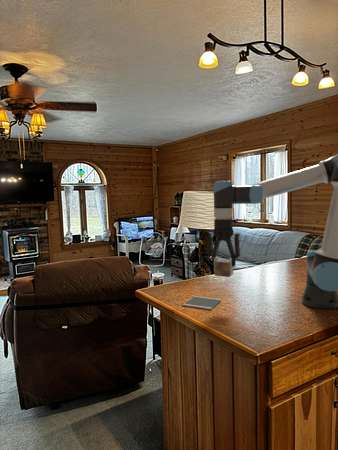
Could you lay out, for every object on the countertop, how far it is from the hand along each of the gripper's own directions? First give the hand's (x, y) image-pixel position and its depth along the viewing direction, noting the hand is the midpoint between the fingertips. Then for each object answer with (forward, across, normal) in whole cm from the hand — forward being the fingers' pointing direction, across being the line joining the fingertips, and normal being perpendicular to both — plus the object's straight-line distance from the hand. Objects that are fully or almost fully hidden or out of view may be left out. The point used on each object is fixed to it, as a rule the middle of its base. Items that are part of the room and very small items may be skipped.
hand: (223, 273), depth 142 cm
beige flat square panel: (+15, 0, 0) cm, 15 cm away
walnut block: (+1, 0, 0) cm, 1 cm away
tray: (+15, +10, 0) cm, 18 cm away
